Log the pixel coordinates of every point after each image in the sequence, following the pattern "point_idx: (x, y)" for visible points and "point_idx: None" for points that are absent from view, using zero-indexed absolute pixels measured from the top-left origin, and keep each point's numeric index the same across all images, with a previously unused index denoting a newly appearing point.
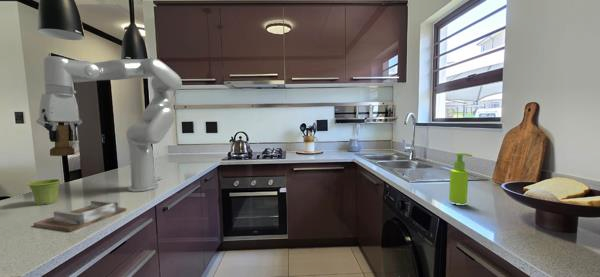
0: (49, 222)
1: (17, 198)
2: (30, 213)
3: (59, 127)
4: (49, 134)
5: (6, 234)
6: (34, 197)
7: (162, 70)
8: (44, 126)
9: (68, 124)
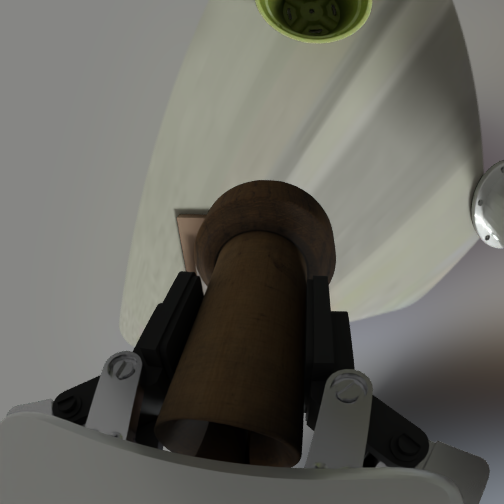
0: (193, 248)
1: None
2: (224, 90)
3: (191, 438)
4: (144, 334)
5: (139, 210)
6: (276, 1)
7: None
8: (75, 396)
9: (346, 456)
